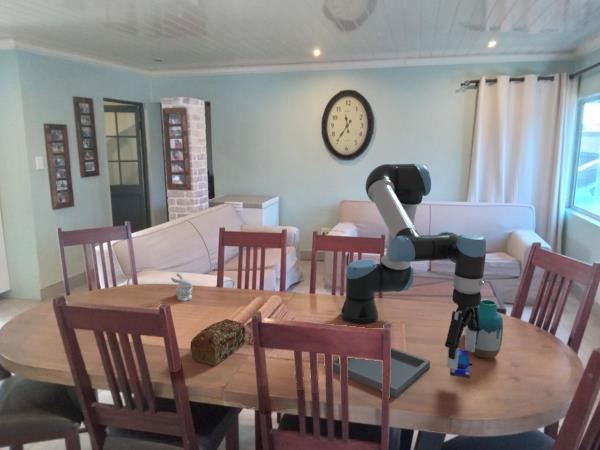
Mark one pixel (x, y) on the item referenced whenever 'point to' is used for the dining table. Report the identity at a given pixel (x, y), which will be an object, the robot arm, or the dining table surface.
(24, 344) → the dining table surface
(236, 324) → the bread
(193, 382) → the dining table surface
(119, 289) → the dining table surface
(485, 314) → the vase
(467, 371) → the toy car
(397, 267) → the robot arm
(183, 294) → the rabbit
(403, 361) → the tray
